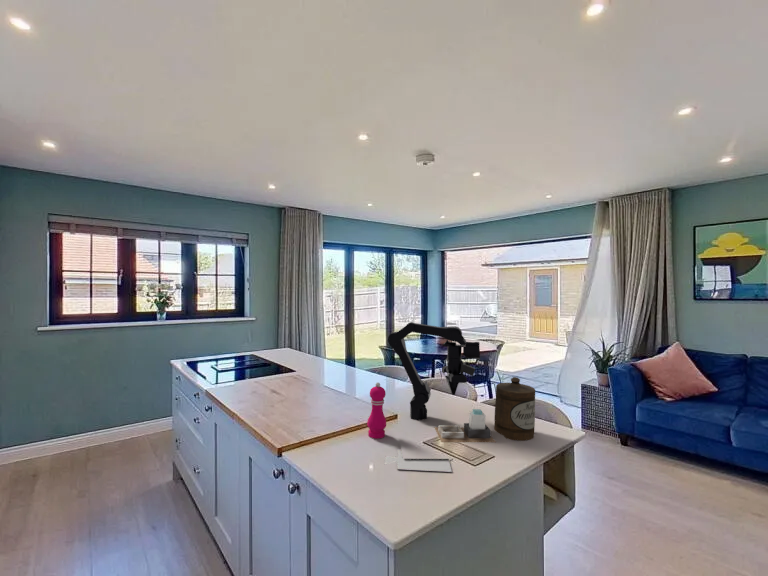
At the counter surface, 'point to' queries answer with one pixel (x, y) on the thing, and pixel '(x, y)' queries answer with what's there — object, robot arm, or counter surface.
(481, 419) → the plug
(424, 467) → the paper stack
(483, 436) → the brown board with frames
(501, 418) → the wooden container
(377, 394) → the pepper mill
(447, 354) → the robot arm
